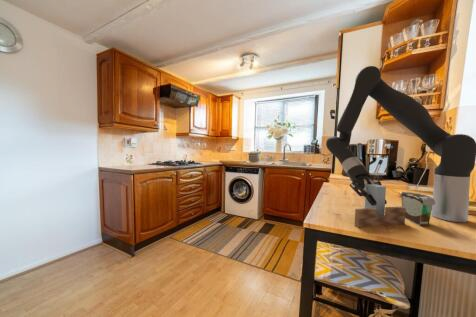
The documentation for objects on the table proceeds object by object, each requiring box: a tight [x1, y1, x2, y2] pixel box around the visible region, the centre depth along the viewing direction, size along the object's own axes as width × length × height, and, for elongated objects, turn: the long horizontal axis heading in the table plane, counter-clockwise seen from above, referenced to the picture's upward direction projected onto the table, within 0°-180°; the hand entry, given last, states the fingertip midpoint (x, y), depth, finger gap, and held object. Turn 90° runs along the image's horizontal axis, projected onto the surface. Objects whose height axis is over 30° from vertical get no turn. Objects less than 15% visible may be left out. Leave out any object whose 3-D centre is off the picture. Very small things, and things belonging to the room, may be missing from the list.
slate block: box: [364, 184, 387, 216], centre depth 72 cm, size 4×5×13 cm
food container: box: [400, 191, 435, 227], centre depth 68 cm, size 12×6×10 cm, turn 168°
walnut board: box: [354, 205, 406, 228], centre depth 65 cm, size 20×1×6 cm, turn 101°
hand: (379, 204), depth 70 cm, fingers closed on slate block, 4 cm apart
